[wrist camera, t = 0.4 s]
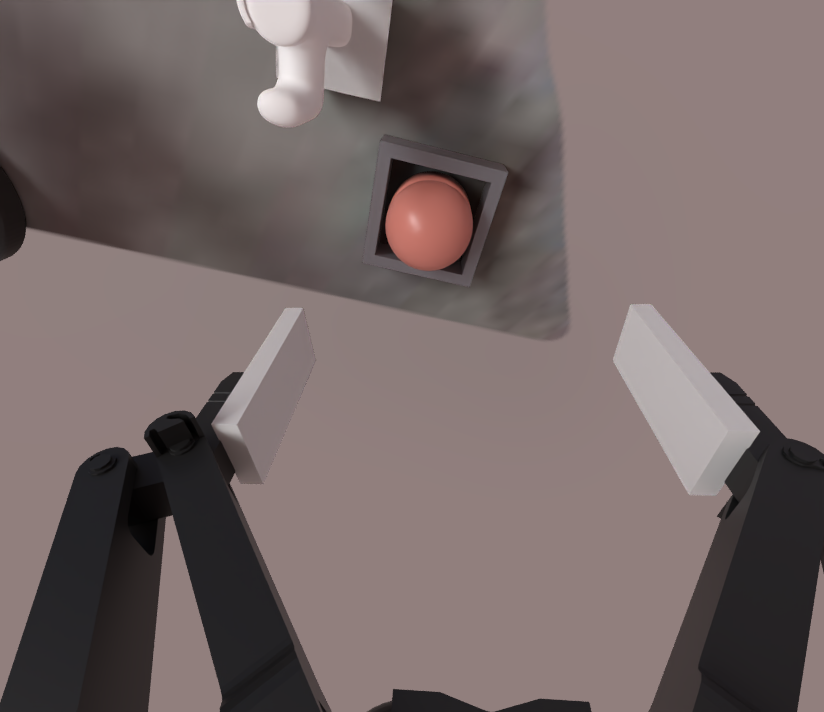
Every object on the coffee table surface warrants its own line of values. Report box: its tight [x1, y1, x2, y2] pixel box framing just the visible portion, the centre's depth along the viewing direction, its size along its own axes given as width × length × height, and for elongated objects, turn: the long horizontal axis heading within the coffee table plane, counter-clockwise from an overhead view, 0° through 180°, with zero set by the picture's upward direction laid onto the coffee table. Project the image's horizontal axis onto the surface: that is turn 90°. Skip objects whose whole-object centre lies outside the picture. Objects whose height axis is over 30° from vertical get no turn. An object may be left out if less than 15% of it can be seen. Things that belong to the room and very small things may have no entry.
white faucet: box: [237, 0, 393, 127], centre depth 22 cm, size 7×9×15 cm
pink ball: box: [385, 171, 473, 271], centre depth 32 cm, size 7×7×7 cm
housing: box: [362, 135, 508, 287], centre depth 34 cm, size 10×10×3 cm
